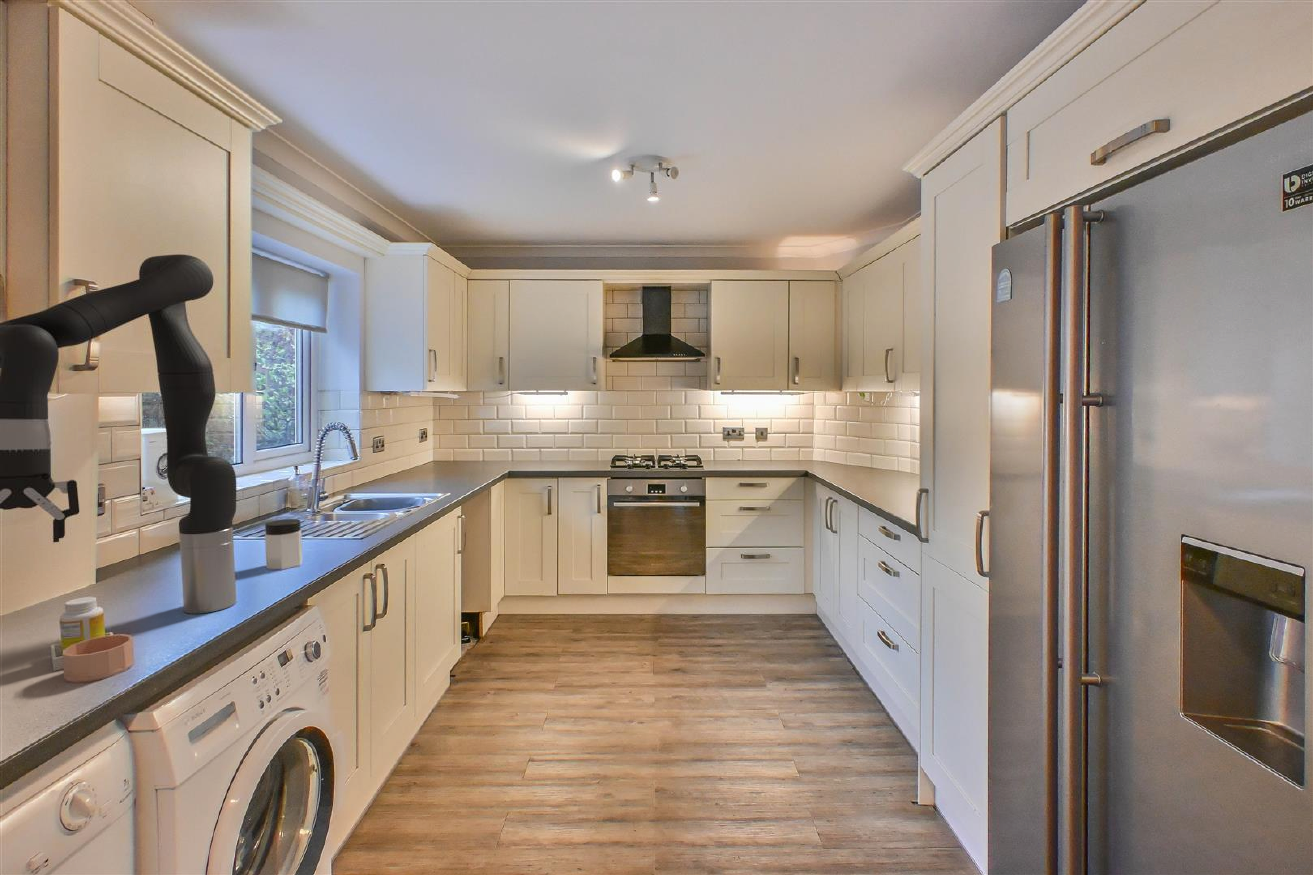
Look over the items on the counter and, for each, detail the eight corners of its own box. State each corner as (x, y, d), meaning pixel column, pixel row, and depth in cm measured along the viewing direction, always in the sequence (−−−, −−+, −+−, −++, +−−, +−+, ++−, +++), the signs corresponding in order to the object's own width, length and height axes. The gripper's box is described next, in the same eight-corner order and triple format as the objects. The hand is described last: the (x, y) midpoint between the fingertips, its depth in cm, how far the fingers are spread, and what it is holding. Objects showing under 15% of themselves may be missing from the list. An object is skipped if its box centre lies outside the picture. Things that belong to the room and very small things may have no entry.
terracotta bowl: (88, 661, 102) (86, 636, 101) (145, 656, 104) (143, 632, 103) (50, 685, 93) (48, 658, 93) (113, 679, 95) (111, 652, 95)
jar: (295, 559, 165) (293, 517, 164) (309, 563, 161) (307, 521, 160) (259, 566, 158) (257, 523, 157) (273, 571, 153) (271, 527, 152)
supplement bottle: (104, 646, 108) (100, 592, 107) (108, 655, 104) (104, 599, 103) (61, 656, 104) (57, 600, 103) (63, 666, 100) (59, 608, 99)
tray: (51, 656, 104) (50, 645, 103) (112, 642, 109) (112, 631, 109) (53, 671, 98) (52, 659, 98) (117, 655, 104) (117, 644, 104)
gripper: (78, 445, 103) (79, 536, 104) (-47, 447, 93) (-46, 548, 94) (78, 446, 98) (79, 542, 98) (-54, 448, 88) (-53, 555, 88)
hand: (18, 545), depth 96 cm, fingers open, 8 cm apart
